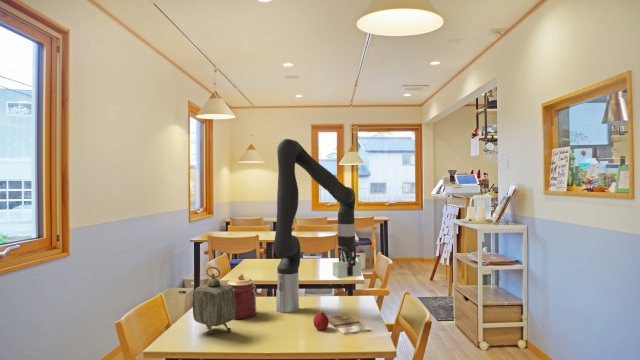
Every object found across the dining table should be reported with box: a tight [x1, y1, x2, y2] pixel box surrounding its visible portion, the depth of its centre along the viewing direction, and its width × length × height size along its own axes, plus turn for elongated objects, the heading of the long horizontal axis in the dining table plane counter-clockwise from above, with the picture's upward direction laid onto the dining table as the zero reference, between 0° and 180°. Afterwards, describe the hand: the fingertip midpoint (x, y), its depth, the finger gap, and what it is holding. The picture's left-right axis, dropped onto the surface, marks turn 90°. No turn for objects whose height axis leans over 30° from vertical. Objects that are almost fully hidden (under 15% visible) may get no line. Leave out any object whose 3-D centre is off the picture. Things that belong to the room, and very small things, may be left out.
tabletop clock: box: [192, 266, 235, 335], centre depth 166 cm, size 14×9×25 cm, turn 59°
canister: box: [226, 273, 257, 320], centre depth 187 cm, size 13×13×18 cm
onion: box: [312, 310, 330, 331], centre depth 165 cm, size 6×6×8 cm
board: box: [327, 314, 373, 337], centre depth 170 cm, size 11×22×1 cm, turn 21°
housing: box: [332, 260, 363, 279], centre depth 183 cm, size 11×6×6 cm, turn 109°
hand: (347, 274), depth 183 cm, fingers closed on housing, 6 cm apart
